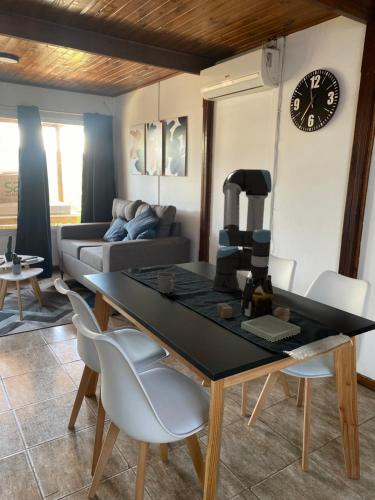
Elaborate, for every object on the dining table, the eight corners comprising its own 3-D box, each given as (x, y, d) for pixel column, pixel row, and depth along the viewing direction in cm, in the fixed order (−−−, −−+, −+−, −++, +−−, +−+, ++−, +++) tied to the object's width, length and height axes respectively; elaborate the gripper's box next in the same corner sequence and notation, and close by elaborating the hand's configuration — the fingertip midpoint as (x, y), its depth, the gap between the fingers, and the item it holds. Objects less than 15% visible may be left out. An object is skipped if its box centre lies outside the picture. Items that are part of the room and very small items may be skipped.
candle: (254, 320, 159) (255, 298, 157) (240, 313, 167) (241, 291, 165) (272, 317, 163) (274, 295, 161) (258, 310, 172) (259, 289, 170)
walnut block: (216, 312, 167) (217, 303, 166) (225, 312, 168) (226, 302, 168) (222, 318, 161) (223, 308, 160) (232, 317, 162) (232, 308, 161)
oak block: (273, 320, 160) (274, 309, 159) (277, 317, 164) (278, 306, 163) (285, 323, 157) (286, 312, 156) (288, 319, 161) (289, 309, 160)
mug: (154, 290, 196) (154, 273, 194) (168, 288, 201) (169, 271, 199) (165, 297, 186) (165, 278, 184) (180, 294, 191) (180, 276, 189)
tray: (241, 328, 150) (241, 322, 150) (268, 319, 160) (268, 314, 160) (272, 342, 138) (273, 336, 137) (300, 333, 147) (300, 327, 147)
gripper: (247, 270, 151) (244, 321, 155) (284, 263, 165) (280, 310, 169) (234, 266, 157) (231, 315, 161) (271, 260, 171) (267, 306, 175)
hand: (256, 313), depth 165 cm, fingers closed on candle, 11 cm apart
